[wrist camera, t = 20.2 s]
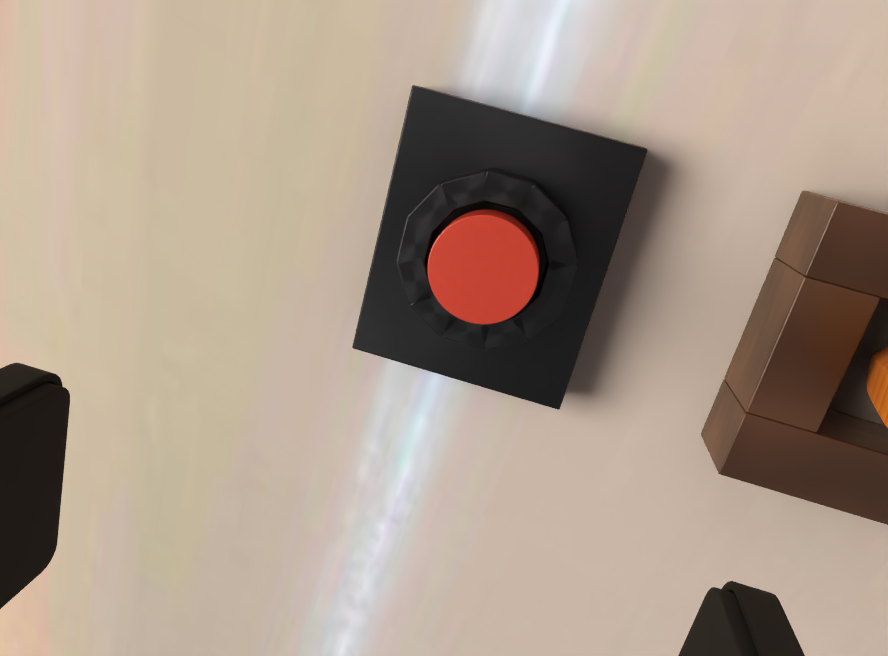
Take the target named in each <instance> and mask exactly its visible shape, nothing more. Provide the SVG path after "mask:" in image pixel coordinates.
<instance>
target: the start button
mask: <svg viewBox="0 0 888 656" xmlns="http://www.w3.org/2000/svg"><path fill="white" fill-rule="evenodd" d="M539 266H540V257H539V251H538V247H537V244H536V242H535V240H534V237H533V236H532V234H531V233H530V231H529V230H528V229H527V228H526V226H525V225H524V224H523V223H521V222H520V221H519V220H518V219H516V218H515V217H513V216H511V215H509V214H507V213H504V212H501V211H497V210H490V209H483V210H475V211H471V212H468V213H466V214H464V215H461V216H460V217H458V218H457V219H455V220H454V221H453V222H451V223H450V224H449V225H448V226H447V227H446V228H445V229H444V230H443V231H442V233H441V234H440V235H439V236H438V238H437V239H436V241H435V242H434V244H433V246H432V248H431V251H430V254H429V259H428V269H427V270H428V279H429V283H430V286H431V289H432V291H433V293H434V295H435V297H436V299H437V300H438V301H439V303H440V304H441V305H442V306H443V307H444V308H445V309H446V310H447V311H448V312H449V313H451V314H452V315H454V316H455V317H457V318H459V319H461V320H464V321H467V322H470V323H474V324H493V323H498V322H502V321H504V320H507V319H509V318H511V317H512V316H514V315H516V314H517V313H518V312H520V311H521V310H522V309H523V308H524V307H525V306H526V305H527V303H528V302H529V301H530V299H531V297H532V296H533V294H534V291H535V289H536V286H537V282H538V276H539Z"/></svg>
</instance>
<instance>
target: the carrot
mask: <svg viewBox="0 0 888 656" xmlns="http://www.w3.org/2000/svg"><path fill="white" fill-rule="evenodd" d="M866 383H867V392H868V394H869V397H870V399H871V401H872V403H873V405H874V407H875V409H876V411H877V412H878V414H879V416H880V417H881V419H882V421H883V422H884V424H885V426H886V427H887V428H888V346H887V347H885V348H883V349H881V350H879V351H877V352H876V353H874V354H873V356H872V359H871V362H870V366H869V369H868V373H867V376H866Z"/></svg>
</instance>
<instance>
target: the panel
mask: <svg viewBox="0 0 888 656" xmlns="http://www.w3.org/2000/svg"><path fill="white" fill-rule="evenodd" d="M646 154H647V149H646V148H644V147H641V146H637V145H634V144H630V143H626V142H623V141H619V140H615V139H612V138H608V137H604V136H601V135H597V134H593V133H589V132H586V131H582V130H578V129H575V128H571V127H567V126H564V125H560V124H556V123H553V122H549V121H545V120H542V119H538V118H534V117H531V116H527V115H523V114H519V113H516V112H512V111H508V110H505V109H501V108H497V107H494V106H490V105H486V104H483V103H479V102H475V101H472V100H468V99H464V98H461V97H457V96H453V95H449V94H446V93H442V92H438V91H435V90H431V89H427V88H424V87H419V86H414V85H413V86H412V89H411V93H410V97H409V102H408V106H407V110H406V115H405V119H404V124H403V128H402V132H401V137H400V141H399V145H398V150H397V154H396V159H395V163H394V167H393V172H392V176H391V181H390V185H389V189H388V194H387V198H386V202H385V207H384V211H383V216H382V220H381V224H380V229H379V233H378V237H377V242H376V246H375V251H374V255H373V259H372V264H371V268H370V272H369V277H368V281H367V286H366V290H365V294H364V299H363V303H362V307H361V312H360V316H359V321H358V325H357V329H356V334H355V338H354V343H353V348H354V349H357V350H361V351H364V352H367V353H371V354H374V355H378V356H381V357H384V358H388V359H391V360H394V361H398V362H401V363H404V364H408V365H411V366H414V367H418V368H421V369H424V370H428V371H431V372H434V373H438V374H441V375H445V376H448V377H451V378H455V379H458V380H461V381H465V382H468V383H471V384H475V385H478V386H481V387H485V388H488V389H491V390H495V391H498V392H501V393H505V394H508V395H512V396H515V397H518V398H522V399H525V400H528V401H532V402H535V403H538V404H542V405H545V406H548V407H552V408H555V409H560V407H561V404H562V401H563V398H564V395H565V392H566V389H567V386H568V383H569V380H570V377H571V374H572V371H573V368H574V365H575V362H576V359H577V357H578V354H579V351H580V348H581V345H582V342H583V339H584V336H585V333H586V330H587V327H588V324H589V321H590V318H591V315H592V312H593V309H594V307H595V304H596V301H597V298H598V295H599V292H600V289H601V286H602V283H603V280H604V277H605V274H606V271H607V268H608V265H609V262H610V259H611V257H612V254H613V251H614V248H615V245H616V242H617V239H618V236H619V233H620V230H621V227H622V224H623V221H624V218H625V215H626V212H627V209H628V207H629V204H630V201H631V198H632V195H633V192H634V189H635V186H636V183H637V180H638V177H639V174H640V171H641V168H642V165H643V162H644V159H645V157H646ZM483 209H490V210H497V211H501V212H504V213H507V214H509V215H511V216H513V217H515V218H516V219H518V220H519V221H520V222H521V223H523V224H524V225H525V226H526V228H527V229H528V230H529V231H530V233H531V234H532V236H533V237H534V240H535V242H536V244H537V247H538V251H539V257H540V266H539V276H538V282H537V286H536V289H535V291H534V294H533V296H532V297H531V299H530V301H529V302H528V303H527V305H526V306H525V307H524V308H523V309H522V310H521V311H520V312H518V313H517V314H516V315H514V316H512V317H511V318H509V319H507V320H504V321H502V322H498V323H493V324H474V323H470V322H467V321H464V320H461V319H459V318H457V317H455V316H454V315H452V314H451V313H449V312H448V311H447V310H446V309H445V308H444V307H443V306H442V305H441V304H440V303H439V301H438V300H437V299H436V297H435V295H434V293H433V291H432V289H431V286H430V283H429V279H428V270H427V269H428V259H429V254H430V251H431V248H432V246H433V244H434V242H435V241H436V239H437V238H438V236H439V235H440V234H441V233H442V231H443V230H444V229H445V228H446V227H447V226H448V225H449V224H450V223H451V222H453V221H454V220H455V219H457V218H458V217H460V216H461V215H464V214H466V213H468V212H471V211H475V210H483Z"/></svg>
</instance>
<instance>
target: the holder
mask: <svg viewBox="0 0 888 656" xmlns="http://www.w3.org/2000/svg"><path fill="white" fill-rule="evenodd" d="M775 257H776V258H775V259H774V260H773V263H772V265H771V268H770V270H769V272H768V275H767V277H766V280H765V282H764V284H763V287H762V289H761V292H760V294H759V296H758V299H757V301H756V304H755V306H754V308H753V311H752V313H751V316H750V318H749V320H748V323H747V325H746V328H745V330H744V332H743V335H742V337H741V340H740V342H739V344H738V347H737V349H736V352H735V354H734V356H733V359H732V361H731V364H730V366H729V368H728V371H727V373H726V376H725V380H723V382H722V385H721V387H720V390H719V392H718V394H717V397H716V399H715V402H714V404H713V406H712V409H711V411H710V414H709V416H708V418H707V421H706V423H705V426H704V428H703V430H702V433H701V436H702V438H703V440H704V442H705V444H706V447H707V449H708V451H709V453H710V455H711V457H712V460H713V462H714V464H715V466H716V468H717V471H718V473H719V474H721V475H724V476H728V477H731V478H734V479H738V480H741V481H744V482H748V483H751V484H754V485H758V486H761V487H764V488H768V489H771V490H774V491H778V492H781V493H784V494H788V495H791V496H794V497H798V498H801V499H804V500H808V501H811V502H814V503H818V504H821V505H824V506H828V507H831V508H834V509H838V510H841V511H844V512H848V513H851V514H854V515H858V516H861V517H864V518H867V519H871V520H874V521H877V522H881V523H884V524H887V525H888V428H887V427H886V426H883V425H880V424H876V423H873V422H869V421H866V420H862V419H859V418H856V417H852V416H849V415H845V414H842V413H838V412H835V411H832V410H828V408H829V406H830V404H831V402H832V399H833V397H834V395H835V393H836V391H837V389H838V387H839V385H840V383H841V381H842V378H843V376H844V374H845V372H846V370H847V368H848V366H849V364H850V362H851V359H852V357H853V355H854V353H855V351H856V349H857V347H858V345H859V343H860V341H861V338H862V336H863V334H864V332H865V330H866V328H867V326H868V324H869V322H870V320H871V317H872V315H873V313H874V311H875V309H876V307H877V305H878V303H879V301H880V298H879V297H881V298H885V299H888V213H884V212H881V211H877V210H873V209H870V208H866V207H862V206H858V205H855V204H851V203H847V202H844V201H840V200H836V199H833V198H829V197H825V196H822V195H818V194H814V193H811V192H807V191H802V193H801V195H800V197H799V200H798V202H797V205H796V207H795V209H794V212H793V214H792V217H791V219H790V221H789V224H788V226H787V229H786V231H785V233H784V236H783V238H782V241H781V243H780V245H779V248H778V250H777V253H776V255H775Z"/></svg>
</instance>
